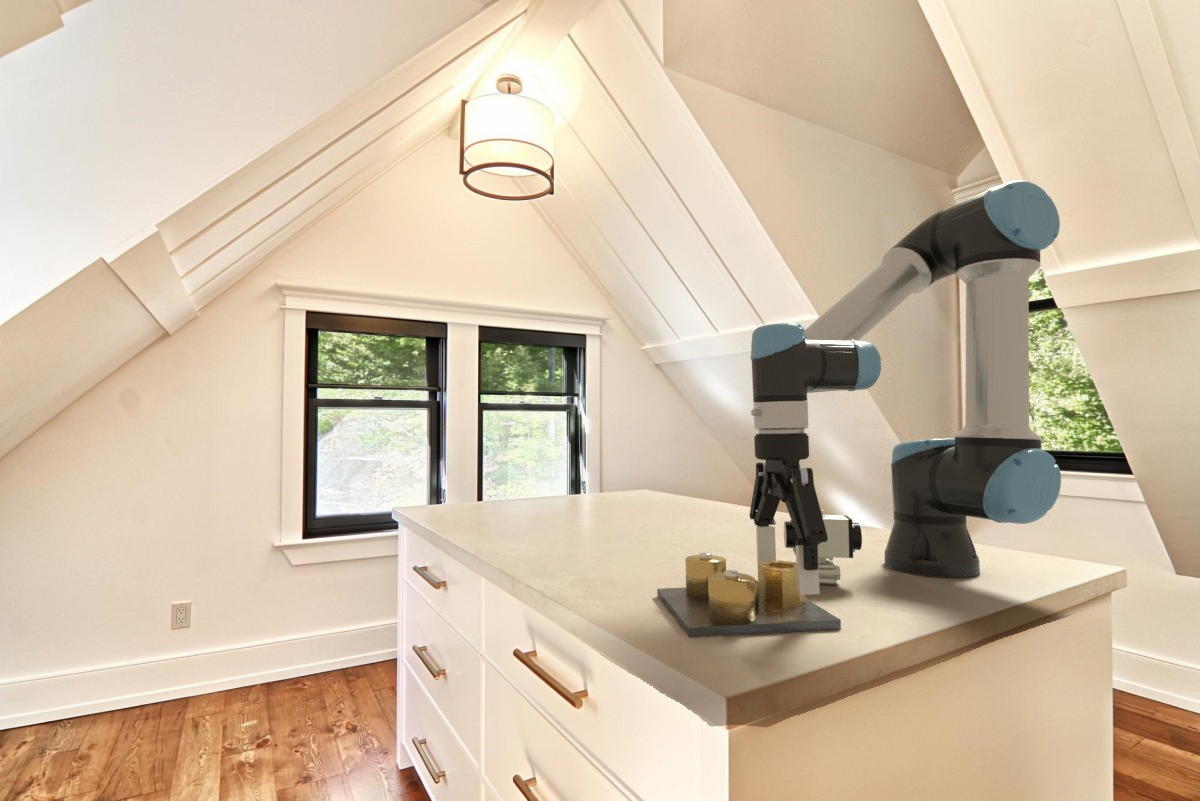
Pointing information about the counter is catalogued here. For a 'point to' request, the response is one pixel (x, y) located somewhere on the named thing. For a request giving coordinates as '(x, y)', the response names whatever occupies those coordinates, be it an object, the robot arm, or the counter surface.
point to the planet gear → (779, 584)
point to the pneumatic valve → (830, 544)
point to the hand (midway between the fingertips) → (786, 580)
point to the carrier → (734, 604)
